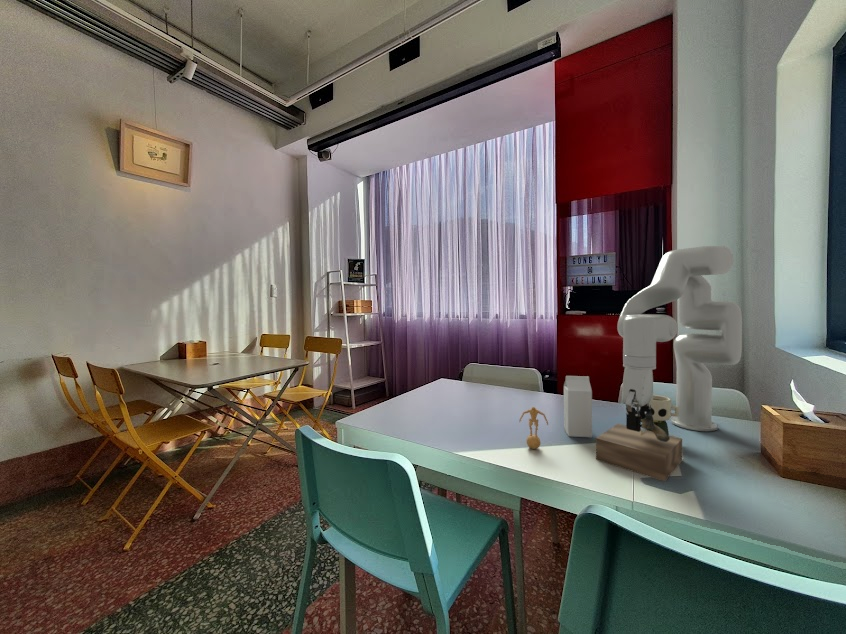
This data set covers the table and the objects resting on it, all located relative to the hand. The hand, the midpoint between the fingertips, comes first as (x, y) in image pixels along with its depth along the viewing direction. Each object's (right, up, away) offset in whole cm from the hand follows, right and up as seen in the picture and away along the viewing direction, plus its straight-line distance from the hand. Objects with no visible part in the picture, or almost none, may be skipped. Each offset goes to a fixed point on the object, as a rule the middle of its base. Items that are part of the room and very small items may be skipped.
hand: (638, 425), depth 93 cm
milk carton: (-8, -9, +20) cm, 23 cm away
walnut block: (0, -9, 0) cm, 9 cm away
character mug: (+15, -9, +14) cm, 22 cm away
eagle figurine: (+1, -2, -3) cm, 3 cm away
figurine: (-25, -10, +10) cm, 29 cm away
